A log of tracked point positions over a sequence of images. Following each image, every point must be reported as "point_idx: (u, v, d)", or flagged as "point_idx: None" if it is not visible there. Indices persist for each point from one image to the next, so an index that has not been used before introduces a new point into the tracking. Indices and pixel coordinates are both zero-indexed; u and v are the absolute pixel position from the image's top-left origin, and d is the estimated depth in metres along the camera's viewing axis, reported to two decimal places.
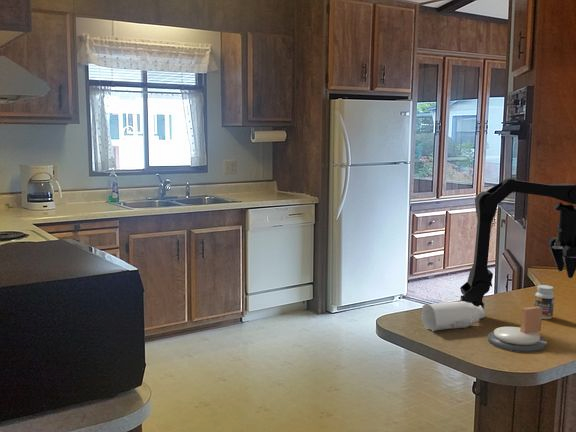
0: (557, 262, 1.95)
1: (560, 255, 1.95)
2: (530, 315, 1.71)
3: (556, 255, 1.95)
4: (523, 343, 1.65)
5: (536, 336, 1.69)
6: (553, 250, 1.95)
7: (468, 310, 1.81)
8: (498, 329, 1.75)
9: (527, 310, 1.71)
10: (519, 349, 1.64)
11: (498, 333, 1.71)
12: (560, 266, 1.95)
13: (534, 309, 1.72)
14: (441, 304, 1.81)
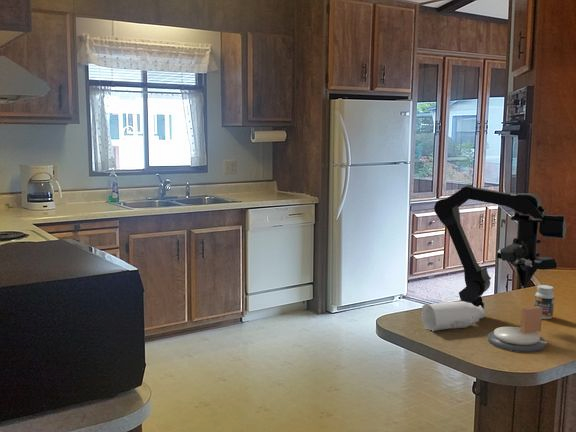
0: None
1: None
2: (530, 315, 1.71)
3: None
4: (523, 343, 1.65)
5: (536, 336, 1.69)
6: None
7: (468, 310, 1.81)
8: (498, 329, 1.75)
9: (527, 310, 1.71)
10: (519, 349, 1.64)
11: (498, 333, 1.71)
12: None
13: (534, 309, 1.72)
14: (441, 304, 1.81)
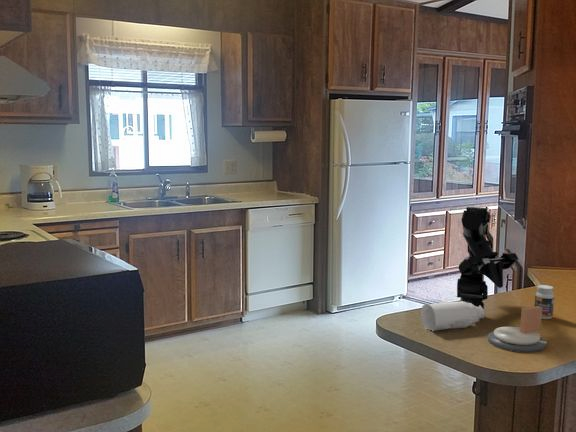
0: None
1: None
2: (530, 315, 1.71)
3: None
4: (523, 343, 1.65)
5: (536, 336, 1.69)
6: None
7: (468, 310, 1.81)
8: (498, 329, 1.75)
9: (527, 310, 1.71)
10: (519, 349, 1.64)
11: (498, 333, 1.71)
12: None
13: (534, 309, 1.72)
14: (441, 304, 1.81)
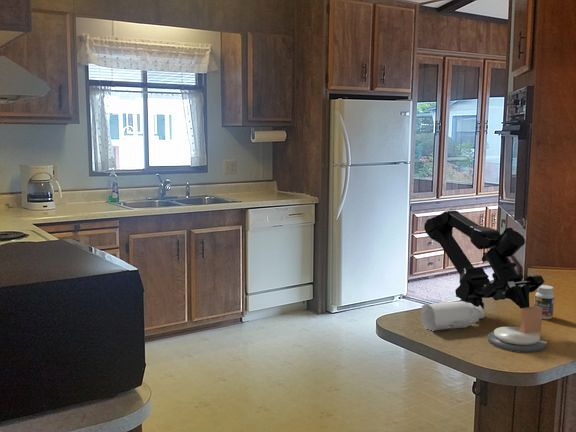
0: None
1: None
2: (530, 315, 1.71)
3: None
4: (523, 343, 1.65)
5: (536, 336, 1.69)
6: None
7: (468, 310, 1.81)
8: (498, 329, 1.75)
9: (527, 310, 1.71)
10: (519, 349, 1.64)
11: (498, 333, 1.71)
12: None
13: (534, 309, 1.72)
14: (440, 304, 1.81)
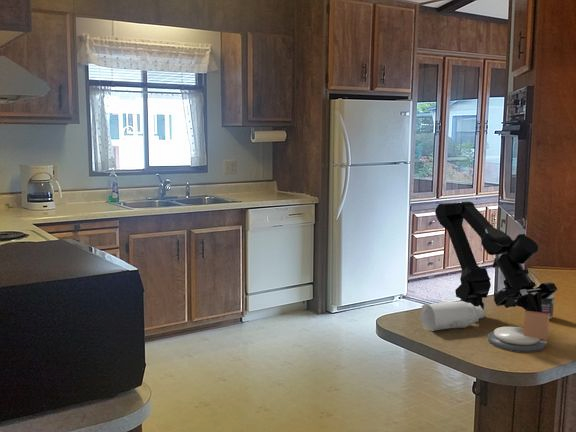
0: None
1: None
2: (531, 319, 1.68)
3: None
4: (501, 339, 1.68)
5: (526, 339, 1.66)
6: None
7: (467, 310, 1.81)
8: (512, 327, 1.76)
9: (527, 313, 1.68)
10: (519, 349, 1.64)
11: (501, 328, 1.75)
12: None
13: (537, 314, 1.67)
14: (440, 304, 1.81)
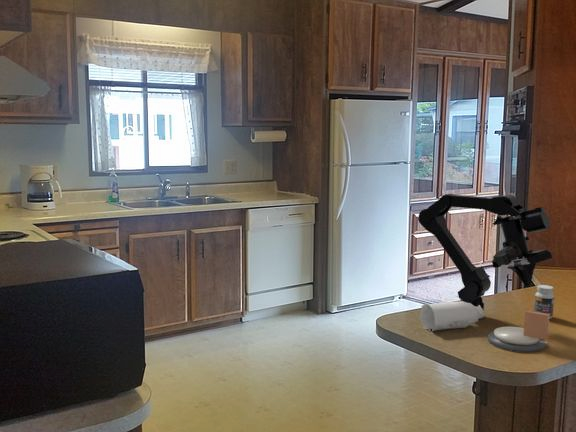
0: None
1: None
2: (531, 319, 1.68)
3: None
4: (501, 339, 1.68)
5: (526, 339, 1.66)
6: None
7: (467, 310, 1.81)
8: (512, 327, 1.76)
9: (527, 313, 1.68)
10: (519, 349, 1.64)
11: (501, 328, 1.75)
12: None
13: (537, 314, 1.67)
14: (440, 304, 1.81)
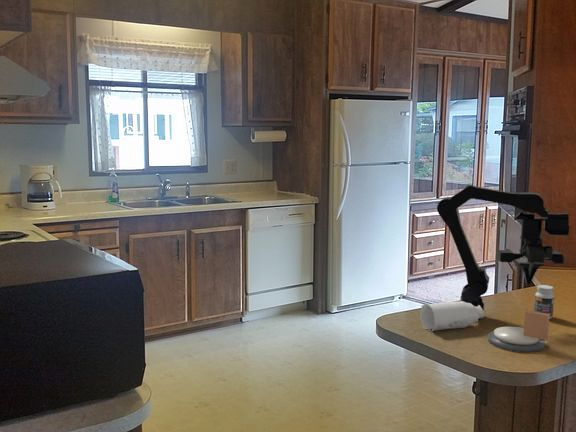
0: None
1: (530, 268, 1.88)
2: (531, 319, 1.68)
3: (529, 267, 1.89)
4: (501, 339, 1.68)
5: (526, 339, 1.66)
6: (529, 261, 1.90)
7: (467, 310, 1.81)
8: (512, 327, 1.76)
9: (527, 313, 1.68)
10: (519, 349, 1.64)
11: (501, 328, 1.75)
12: None
13: (537, 314, 1.67)
14: (440, 304, 1.81)
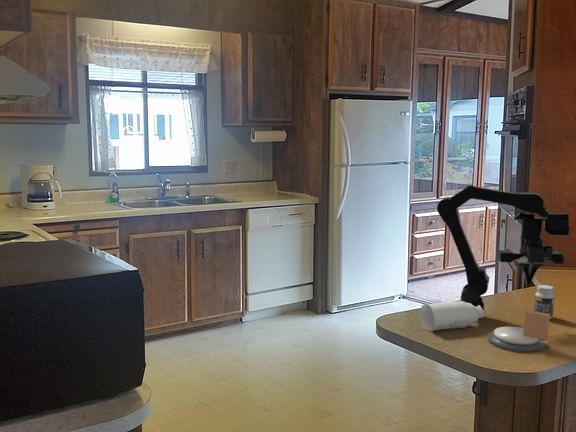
0: None
1: (530, 268, 1.88)
2: (531, 319, 1.68)
3: (529, 267, 1.89)
4: (501, 339, 1.68)
5: (526, 339, 1.66)
6: (529, 261, 1.90)
7: (467, 310, 1.81)
8: (512, 327, 1.76)
9: (527, 313, 1.68)
10: (519, 349, 1.64)
11: (501, 328, 1.75)
12: None
13: (537, 314, 1.67)
14: (440, 304, 1.81)
